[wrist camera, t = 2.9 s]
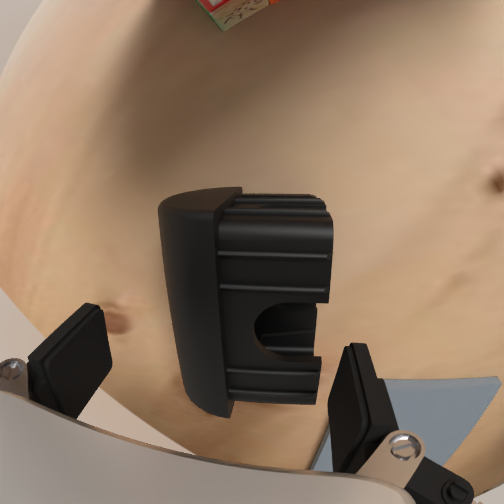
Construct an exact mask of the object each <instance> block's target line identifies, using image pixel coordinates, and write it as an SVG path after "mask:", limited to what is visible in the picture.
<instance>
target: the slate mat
mask: <svg viewBox="0 0 504 504" xmlns="http://www.w3.org/2000/svg"><path fill="white" fill-rule="evenodd" d="M383 380H384V382H385V384H386V387H387V391H388V394H389V397H390V400H391V403H392V407H393V410H394V413H395V417H396V420H397V424H398V427H399V430H407V431H410V432H413V433H415V434H416V435H418V436H419V437H420V438H421V439H422V440H423V442H424V444H425V450H426V452H425V455H424V456H425V457H427V458H429V459H430V460H432V461H434V462H435V463H437V464H439V465H440V466H443V465H444V464H445V463H446V462H447V460H448V459H449V458H450V457H451V456H452V454H453V453H454V452H455V451H456V449H457V448H458V447H459V446H460V444H461V443H462V442H463V441H464V439H465V438H466V437H467V435H468V434H469V433H470V431H471V430H472V429H473V427H474V426H475V424H476V423H477V422H478V420H479V419H480V417H481V416H482V414H483V413H484V411H485V410H486V408H487V407H488V405H489V404H490V402H491V401H492V399H493V398H494V396H495V394H496V393H497V391H498V390H499V388H500V386H501V385H502V383H501V382H500V380H499V378H498V377H484V378H468V379H440V380H395V379H383ZM309 470H312V471H326V472H333V466H332V452H331V439H330V427H329V426H328V428H327V431H326V433H325V435H324V438H323V440H322V443H321V445H320V447H319V449H318V452H317V454H316V456H315V459H314V461H313V463H312V465H311V467H310V469H309Z"/></svg>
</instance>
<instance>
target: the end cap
mask: <svg viewBox="0 0 504 504" xmlns="http://www.w3.org/2000/svg"><path fill="white" fill-rule="evenodd" d="M158 217H159V227H160V237H161V246H162V254H163V263H164V271H165V278H166V285H167V292H168V299H169V306H170V312H171V319H172V325H173V331H174V336H175V342H176V348H177V353H178V359H179V364H180V369H181V374H182V379H183V384H184V387H185V391H186V393H187V395H188V397H189V398H190V400H191V401H192V402H193V403H194V404H195V405H197V406H198V407H199V408H201V409H202V410H204V411H206V412H207V413H210V414H213V415H215V416H219V417H224V418H229V419H230V417H231V413H232V409H233V405H234V401H245V402H258V403H275V404H301V405H315V404H316V399H317V392H318V385H319V378H320V371H321V364H322V361H321V356H314V340H315V330H316V319H317V307H316V303H329V292H330V280H331V268H332V254H333V220H332V218H331V215H330V213H329V212H327V211H326V205H325V203H324V201H322V200H321V199H320V198H317V197H316V196H314V195H310V194H242V187H224V188H211V189H203V190H196V191H190V192H185V193H180V194H177V195H173V196H171V197H168V198H166V199H165V200H163V201H162V202H161V203H160V205H159V207H158Z"/></svg>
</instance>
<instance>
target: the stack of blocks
mask: <svg viewBox="0 0 504 504" xmlns="http://www.w3.org/2000/svg"><path fill="white" fill-rule="evenodd" d="M196 1H197V2H198V4H199V5H200V6H201V7H202V8H203V9H204V10H205V11H206V12H207V14H208V15H209V16H210V17H211V18H212V19H213V20H214V21H215V23H216V24H217V25H218V26H219V27H220V28H221V30H222V31H223V32H224V31H227V30H228V29H230V28H231V27H233V26H234V25H236V24H237V23H239V22H241V21H242V20H244V19H246V18H247V17H249V16H251V15H252V14H254V13H256V12H257V11H259V10H261V9H263V8H264V7H266V6H268V5H271V4H274V3H276V2H278V1H279V0H196Z"/></svg>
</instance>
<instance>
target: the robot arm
mask: <svg viewBox="0 0 504 504" xmlns="http://www.w3.org/2000/svg"><path fill="white" fill-rule="evenodd" d="M28 360H29V362H28V363H27V364H26V363H25V362H24V361H23V360H21V359H18V358H11V359H7V360H5V361H3V362H1V363H0V504H477V503H476V502H475V501H474V500H473V498H474V491H473V488H472V486H471V485H470V483H469V482H468V481H466V480H465V479H463V478H462V477H460V476H458V475H456V474H454V473H453V472H451V471H449V470H447V469H446V468H444V467H442V466H440V465H439V464H437V463H435V462H434V461H432V460H430V459H429V458H427V457H425V456H424V455H425V452H426V450H425V444H424V442H423V440H422V439H421V438H420V437H419V436H418V435H416V434H415V433H413V432H410V431H407V430H399V427H398V424H397V420H396V417H395V413H394V410H393V407H392V403H391V400H390V397H389V394H388V391H387V387H386V384H385V382H384V380H383V379H382V378H377V376H376V372H375V369H374V366H373V363H372V360H371V356H370V353H369V350H368V347H367V345H366V344H365V343H350V345H349V346H345V347H344V350H343V353H342V357H341V360H340V363H339V367H338V370H337V373H336V376H335V379H334V382H333V386H332V389H331V392H330V395H329V398H328V416H329V427H330V439H331V452H332V466H333V472H326V471H312V470H296V469H285V468H275V467H266V466H257V465H249V464H242V463H235V462H229V461H223V460H217V459H211V458H206V457H201V456H196V455H192V454H187V453H183V452H178V451H174V450H170V449H166V448H162V447H158V446H154V445H151V444H147V443H144V442H140V441H137V440H133V439H130V438H127V437H124V436H121V435H118V434H115V433H111V432H109V431H106V430H103V429H100V428H97V427H95V426H92V425H89V424H86V423H84V422H81V421H79V420H76V419H77V418H78V416H79V415H80V413H81V412H82V410H83V409H84V407H85V406H86V404H87V403H88V401H89V400H90V399H91V397H92V396H93V394H94V393H95V391H96V390H97V389H98V387H99V386H100V384H101V383H102V381H103V380H104V379H105V377H106V376H107V374H108V373H109V372H110V370H111V368H112V357H111V352H110V347H109V342H108V336H107V330H106V324H105V318H104V312H103V310H101V309H100V307H99V306H98V305H95V304H90V303H85V304H83V305H82V306H81V307H80V308H79V309H78V310H77V311H76V312H74V313H73V314H72V315H71V316H70V317H69V318H68V319H67V320H66V321H65V322H64V323H62V324H61V325H60V326H59V327H58V328H57V329H56V330H55V331H54V332H53V333H52V334H51V335H50V336H49V337H48V338H47V339H45V341H43V342H42V343H41V344H40V345H39V346H38V347H37V348H36V349H35V350H34V351H33V352H32V353H31V354H30V355H29V356H28ZM478 504H482V503H481V502H479V503H478Z"/></svg>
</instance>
